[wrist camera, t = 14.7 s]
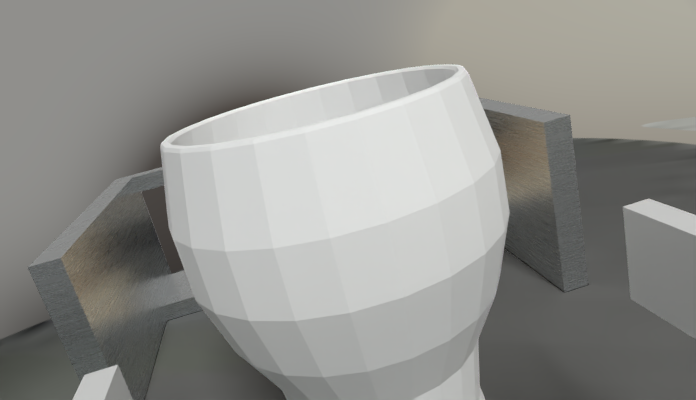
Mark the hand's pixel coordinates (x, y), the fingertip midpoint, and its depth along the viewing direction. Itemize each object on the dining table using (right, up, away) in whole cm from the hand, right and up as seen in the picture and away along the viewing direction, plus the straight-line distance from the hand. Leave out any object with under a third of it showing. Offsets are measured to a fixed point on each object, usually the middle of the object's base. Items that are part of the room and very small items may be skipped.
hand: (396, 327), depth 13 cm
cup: (+1, -8, +8) cm, 11 cm away
